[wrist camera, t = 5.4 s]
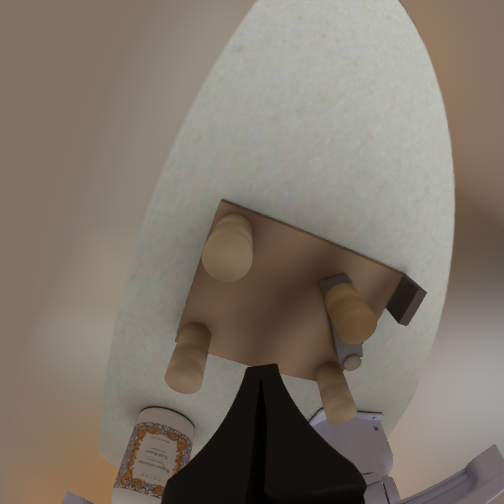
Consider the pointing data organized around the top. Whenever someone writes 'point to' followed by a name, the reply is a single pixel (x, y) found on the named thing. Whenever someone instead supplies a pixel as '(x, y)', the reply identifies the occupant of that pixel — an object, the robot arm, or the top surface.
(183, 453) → the bath foam
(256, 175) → the top surface
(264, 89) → the top surface
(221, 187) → the top surface
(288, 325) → the stool board
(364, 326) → the grey bar with knob
